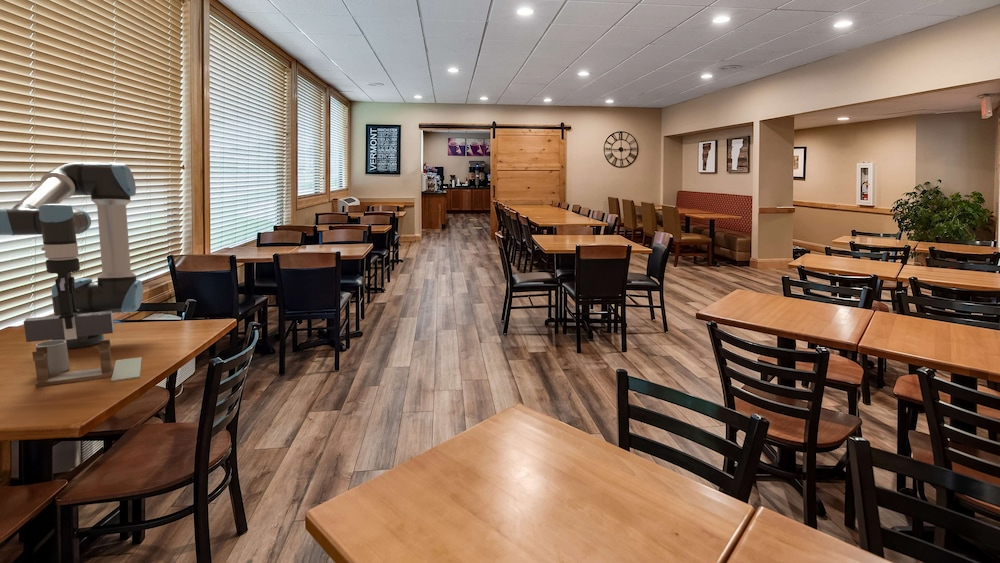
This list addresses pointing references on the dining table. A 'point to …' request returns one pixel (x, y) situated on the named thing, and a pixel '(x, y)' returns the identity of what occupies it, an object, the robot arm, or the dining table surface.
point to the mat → (127, 369)
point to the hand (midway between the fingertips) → (72, 336)
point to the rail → (54, 327)
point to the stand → (72, 376)
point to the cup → (56, 355)
